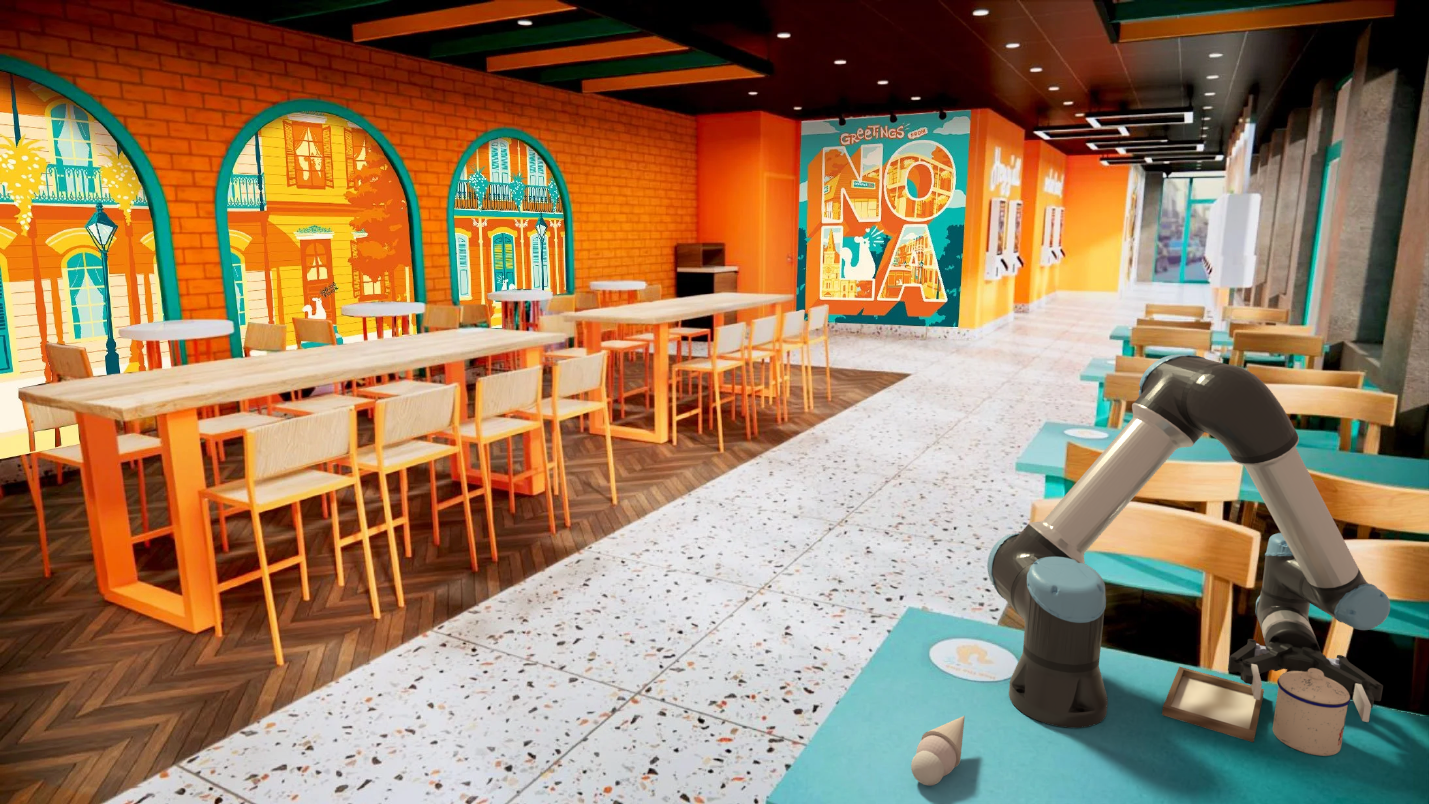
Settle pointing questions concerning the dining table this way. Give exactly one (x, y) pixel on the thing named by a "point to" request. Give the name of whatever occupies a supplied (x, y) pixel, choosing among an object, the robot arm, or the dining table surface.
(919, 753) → the ice cream cone
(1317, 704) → the teacup with lid
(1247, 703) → the walnut tray
